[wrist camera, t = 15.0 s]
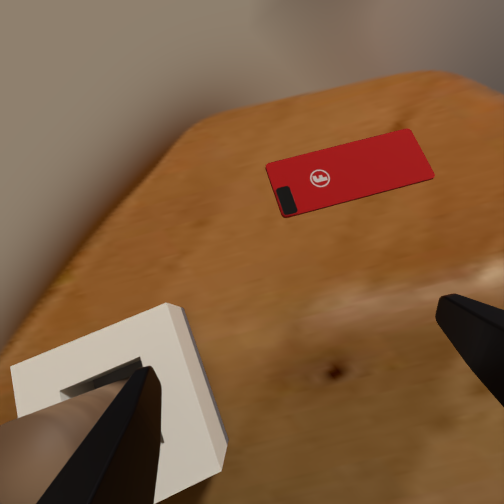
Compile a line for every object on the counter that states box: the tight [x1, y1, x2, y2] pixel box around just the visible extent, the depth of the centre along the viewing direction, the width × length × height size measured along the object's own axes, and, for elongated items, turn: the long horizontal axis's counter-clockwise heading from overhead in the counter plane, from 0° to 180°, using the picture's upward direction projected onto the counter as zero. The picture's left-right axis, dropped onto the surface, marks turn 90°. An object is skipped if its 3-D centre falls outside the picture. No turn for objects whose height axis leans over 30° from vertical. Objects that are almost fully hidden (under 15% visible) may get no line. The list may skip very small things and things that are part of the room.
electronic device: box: [266, 129, 435, 218], centre depth 25 cm, size 6×1×15 cm
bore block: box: [10, 303, 228, 504], centre depth 18 cm, size 10×10×4 cm
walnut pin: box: [0, 376, 130, 504], centre depth 14 cm, size 4×4×10 cm
